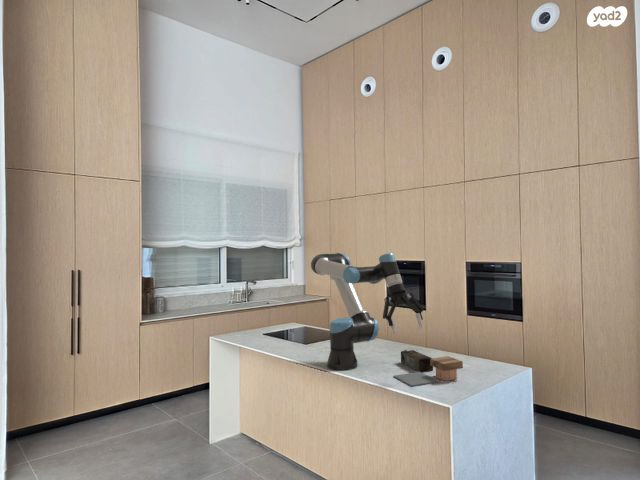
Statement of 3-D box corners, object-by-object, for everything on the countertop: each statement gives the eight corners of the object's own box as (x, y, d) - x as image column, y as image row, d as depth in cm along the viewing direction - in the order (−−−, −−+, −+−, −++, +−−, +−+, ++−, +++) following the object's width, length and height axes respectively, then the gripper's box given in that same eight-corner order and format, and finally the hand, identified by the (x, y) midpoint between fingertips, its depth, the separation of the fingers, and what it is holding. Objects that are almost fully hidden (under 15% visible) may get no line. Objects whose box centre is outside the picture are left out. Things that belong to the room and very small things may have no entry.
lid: (430, 365, 194) (430, 358, 194) (448, 362, 197) (448, 356, 197) (443, 370, 184) (443, 363, 184) (462, 368, 188) (462, 361, 188)
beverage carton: (414, 361, 220) (414, 348, 220) (434, 371, 201) (434, 357, 201) (400, 362, 217) (400, 349, 218) (419, 373, 199) (419, 359, 199)
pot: (432, 375, 193) (432, 365, 193) (448, 373, 196) (448, 363, 196) (444, 381, 185) (444, 370, 185) (461, 378, 188) (460, 367, 188)
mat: (393, 376, 193) (393, 375, 193) (420, 373, 198) (420, 371, 198) (411, 386, 179) (411, 385, 179) (439, 382, 184) (439, 380, 184)
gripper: (374, 286, 191) (387, 333, 183) (422, 279, 199) (436, 323, 191) (368, 291, 197) (380, 336, 190) (414, 284, 205) (428, 327, 198)
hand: (408, 330), depth 190 cm, fingers open, 13 cm apart
